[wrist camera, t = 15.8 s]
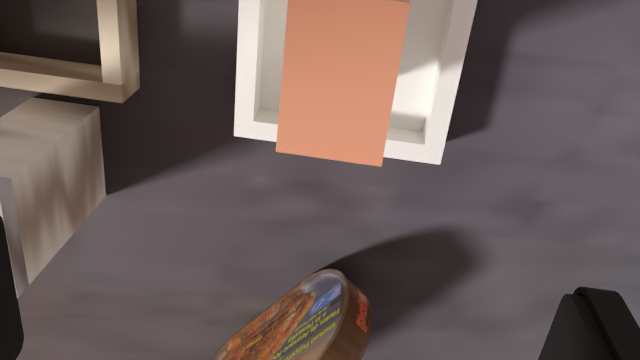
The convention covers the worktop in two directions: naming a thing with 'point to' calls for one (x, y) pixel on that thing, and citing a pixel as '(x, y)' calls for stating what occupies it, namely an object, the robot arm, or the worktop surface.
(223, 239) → the worktop surface
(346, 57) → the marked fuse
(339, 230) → the worktop surface
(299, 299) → the tin
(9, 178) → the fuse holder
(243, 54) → the tray
